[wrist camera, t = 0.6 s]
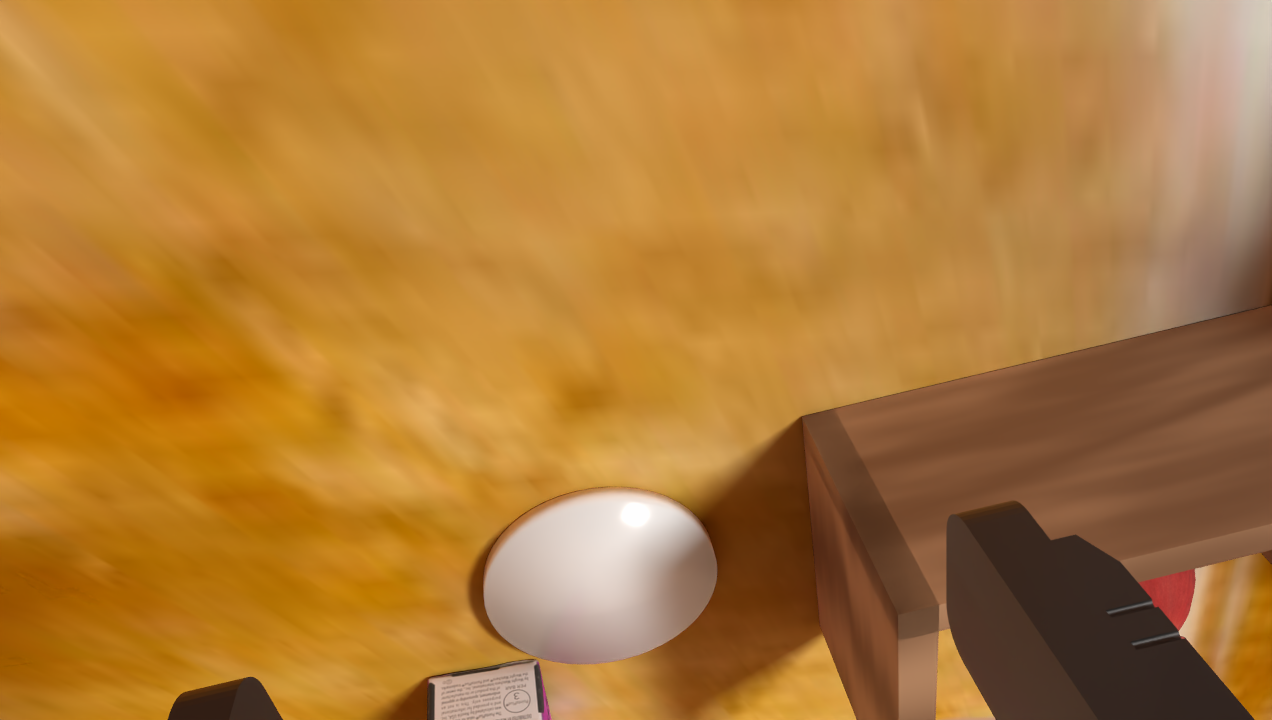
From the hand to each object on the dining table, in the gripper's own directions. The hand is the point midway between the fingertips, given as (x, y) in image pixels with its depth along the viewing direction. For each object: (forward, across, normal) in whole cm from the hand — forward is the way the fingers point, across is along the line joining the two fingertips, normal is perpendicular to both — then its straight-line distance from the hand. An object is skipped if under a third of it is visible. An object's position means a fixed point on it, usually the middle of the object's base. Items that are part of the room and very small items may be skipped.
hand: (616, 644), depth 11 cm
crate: (+20, -17, +18) cm, 31 cm away
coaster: (+20, +2, +17) cm, 26 cm away
